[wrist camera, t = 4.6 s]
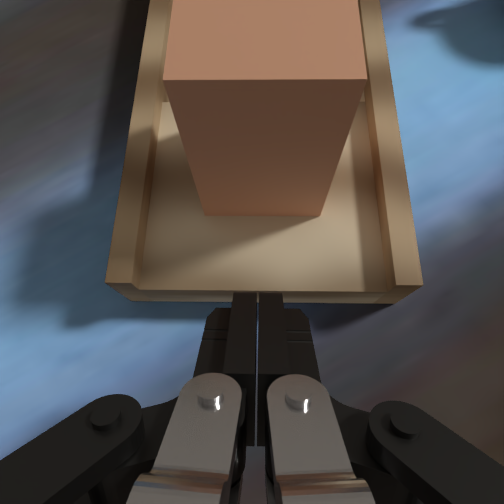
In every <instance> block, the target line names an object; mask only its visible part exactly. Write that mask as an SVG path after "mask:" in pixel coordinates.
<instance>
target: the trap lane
mask: <svg viewBox="0 0 504 504" xmlns="http://www.w3.org/2000/svg"><path fill="white" fill-rule="evenodd" d="M172 4H173V0H150V4H149V10H148V17H147V23H146V29H145V35H144V41H143V48H142V54H141V60H140V66H139V73H138V79H137V85H136V91H135V97H134V104H133V110H132V116H131V122H130V129H129V135H128V141H127V147H126V153H125V160H124V166H123V172H122V178H121V185H120V191H119V197H118V203H117V210H116V216H115V222H114V228H113V234H112V241H111V247H110V253H109V259H108V266H107V272H106V278H105V283H106V284H108V285H109V286H110V287H112V288H113V289H115V290H116V291H117V292H119V293H120V294H122V295H123V296H125V297H126V298H127V299H129V300H130V301H172V302H232V300H233V293H234V292H257V302H259V292H282V295H283V303H378V304H395V303H397V302H398V301H400V300H401V299H403V298H404V297H406V296H408V295H409V294H411V293H412V292H414V291H415V290H417V289H418V288H420V287H421V286H423V280H422V274H421V267H420V261H419V254H418V248H417V241H416V235H415V228H414V222H413V215H412V209H411V202H410V196H409V189H408V183H407V176H406V170H405V163H404V157H403V151H402V144H401V138H400V131H399V125H398V118H397V112H396V105H395V99H394V92H393V86H392V79H391V73H390V66H389V60H388V53H387V47H386V40H385V34H384V27H383V21H382V14H381V8H380V1H379V0H358V7H359V15H360V23H361V31H362V40H363V48H364V56H365V64H366V72H367V82H366V85H365V88H364V90H363V93H362V96H361V99H360V102H359V105H358V108H357V111H356V114H355V117H354V119H353V122H352V125H351V128H350V131H349V134H348V137H347V140H346V143H345V146H344V149H343V151H342V154H341V157H340V160H339V163H338V166H337V169H336V172H335V175H334V178H333V180H332V183H331V186H330V189H329V192H328V195H327V198H326V201H325V204H324V207H323V210H322V212H321V215H320V216H205V214H204V211H203V208H202V205H201V201H200V198H199V195H198V192H197V189H196V185H195V182H194V179H193V176H192V173H191V169H190V166H189V163H188V160H187V157H186V153H185V150H184V147H183V144H182V140H181V137H180V134H179V131H178V128H177V124H176V121H175V118H174V115H173V112H172V108H171V105H170V102H169V99H168V96H167V92H166V89H165V86H164V83H163V73H164V66H165V58H166V50H167V42H168V35H169V27H170V19H171V11H172Z"/></svg>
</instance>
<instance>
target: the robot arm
mask: <svg viewBox="0 0 504 504" xmlns="http://www.w3.org/2000/svg"><path fill="white" fill-rule="evenodd" d="M256 343H257V292H234V293H233V300H232V307H231V308H215V309H214V310H213V312H212V313H211V314H210V315H209V316H208V317H207V320H206V324H205V328H204V332H203V337H202V341H201V345H200V349H199V354H198V358H197V362H196V366H195V371H194V375H193V378H192V379H191V380H190V381H188V382H187V383H186V384H185V385H184V386H183V388H182V390H181V392H180V394H179V396H178V397H176V398H174V399H173V400H170V401H168V402H165V403H162V404H158V405H154V406H150V407H146V408H142V409H141V406H140V404H139V403H138V401H137V400H136V399H134V398H133V397H130V396H128V395H123V394H113V395H107V396H104V397H101V398H98V399H96V400H94V401H92V402H90V403H89V404H87V405H86V406H84V407H83V408H81V409H79V410H78V411H76V412H75V413H73V414H72V415H70V416H69V417H67V418H65V419H64V420H62V421H61V422H59V423H58V424H56V425H55V426H53V427H52V428H50V429H48V430H47V431H45V432H44V433H42V434H41V435H39V436H38V437H36V438H34V439H33V440H31V441H30V442H28V443H27V444H25V445H24V446H22V447H20V448H19V449H17V450H16V451H14V452H13V453H11V454H10V455H8V456H6V457H5V458H3V459H2V460H0V504H240V497H241V489H242V481H243V471H244V468H245V460H246V446H254V441H255V393H256ZM257 446H265V486H266V498H267V504H504V467H503V466H502V465H501V464H499V463H498V462H496V461H495V460H493V459H492V458H490V457H489V456H488V455H486V454H485V453H483V452H482V451H480V450H479V449H477V448H476V447H475V446H473V445H472V444H470V443H469V442H467V441H466V440H465V439H463V438H462V437H460V436H459V435H457V434H456V433H454V432H453V431H452V430H450V429H449V428H447V427H446V426H444V425H443V424H441V423H440V422H439V421H437V420H436V419H434V418H433V417H431V416H430V415H428V414H427V413H426V412H424V411H423V410H421V409H419V408H418V407H416V406H413V405H411V404H408V403H405V402H401V401H385V402H382V403H379V404H378V405H376V406H375V407H374V408H373V409H372V410H371V412H370V413H369V412H366V411H362V410H359V409H355V408H352V407H349V406H346V405H344V404H342V403H340V402H338V401H336V400H335V399H334V398H332V397H331V396H330V395H329V394H328V391H327V390H326V388H325V387H324V386H323V385H322V384H321V380H320V376H319V371H318V365H317V360H316V355H315V350H314V345H313V340H312V335H311V330H310V325H309V320H308V318H307V317H306V316H305V315H304V313H303V312H302V311H301V310H300V309H284V305H283V295H282V292H259V326H258V405H257Z"/></svg>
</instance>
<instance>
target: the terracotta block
mask: <svg viewBox="0 0 504 504" xmlns="http://www.w3.org/2000/svg"><path fill="white" fill-rule="evenodd" d="M366 82H367V72H366V64H365V56H364V48H363V40H362V31H361V23H360V15H359V7H358V0H173V4H172V11H171V19H170V27H169V35H168V42H167V50H166V58H165V66H164V73H163V83H164V86H165V89H166V92H167V96H168V99H169V102H170V105H171V108H172V112H173V115H174V118H175V121H176V124H177V128H178V131H179V134H180V137H181V140H182V144H183V147H184V150H185V153H186V157H187V160H188V163H189V166H190V169H191V173H192V176H193V179H194V182H195V185H196V189H197V192H198V195H199V198H200V201H201V205H202V208H203V211H204V214H205V216H320V215H321V212H322V210H323V207H324V204H325V201H326V198H327V195H328V192H329V189H330V186H331V183H332V180H333V178H334V175H335V172H336V169H337V166H338V163H339V160H340V157H341V154H342V151H343V149H344V146H345V143H346V140H347V137H348V134H349V131H350V128H351V125H352V122H353V119H354V117H355V114H356V111H357V108H358V105H359V102H360V99H361V96H362V93H363V90H364V88H365V85H366Z"/></svg>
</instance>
